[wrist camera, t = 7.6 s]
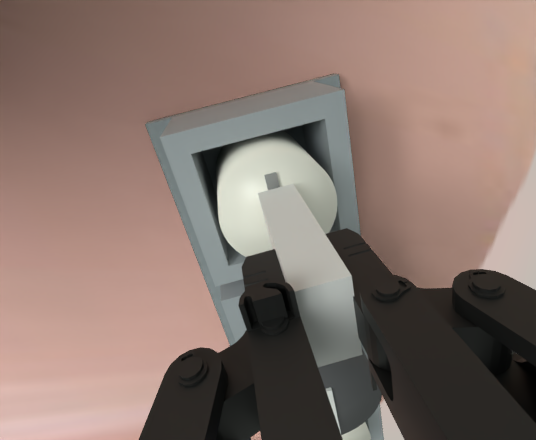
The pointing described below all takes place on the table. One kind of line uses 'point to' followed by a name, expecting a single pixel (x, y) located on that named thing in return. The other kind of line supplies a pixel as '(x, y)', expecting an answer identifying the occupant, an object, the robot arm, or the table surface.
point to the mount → (205, 182)
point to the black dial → (350, 391)
